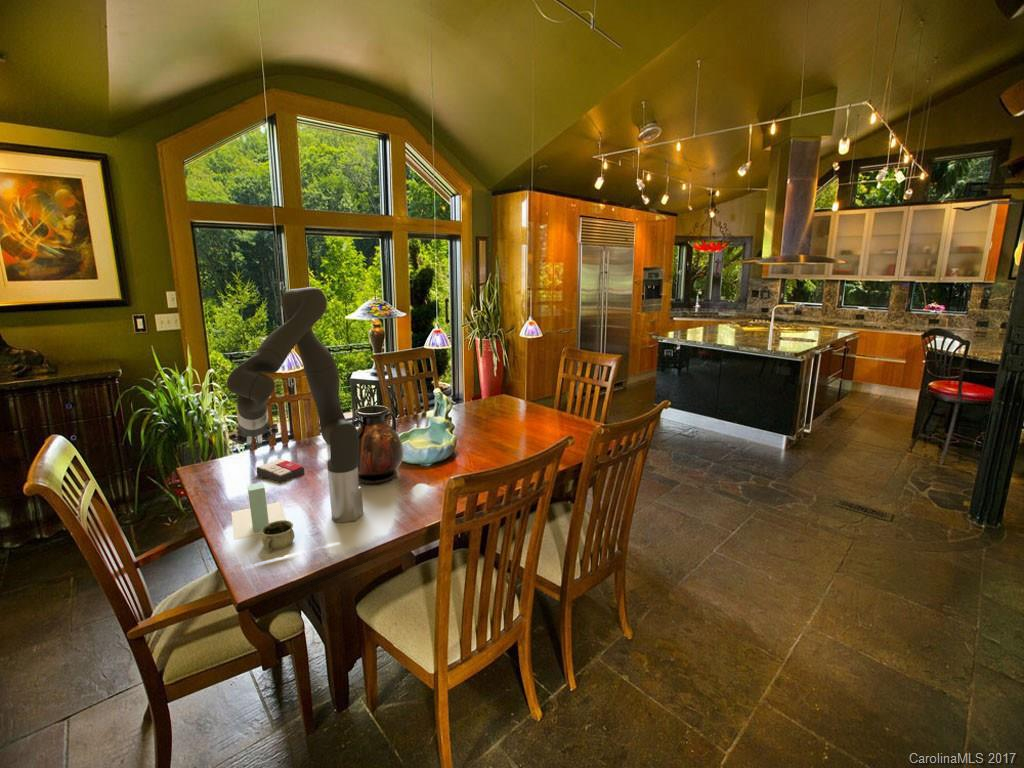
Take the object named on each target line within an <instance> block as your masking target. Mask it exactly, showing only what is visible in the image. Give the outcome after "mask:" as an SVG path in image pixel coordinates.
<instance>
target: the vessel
mask: <svg viewBox="0 0 1024 768" xmlns="http://www.w3.org/2000/svg"><path fill="white" fill-rule="evenodd" d="M293 527H294V524H293V522H292V521H290V520H287V519H286V520H280V521H275V522H271V523H269V524H267V525H265V526H264V527H262V529H261V533H260V534H262V537H261V542H262V545H263V546H264V547H265V550H267V553H268V554H271V553H272V551H278V550H283V549H285V548H288V547H289V546H291V545H292V543H293V541H294V539H295V536H296V535H295V531H294V530H293Z"/></svg>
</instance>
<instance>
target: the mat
mask: <svg viewBox="0 0 1024 768" xmlns="http://www.w3.org/2000/svg"><path fill="white" fill-rule="evenodd" d="M266 504H267V513H268V521H269V523H271V522H275V521H280V520H286V521H287V518H286V515H285V512H284V509H283V505H282V502H281V501H277V502H272V503H266ZM230 513H231V520H232V522H231V523H232V530H233V531H232V532H233V538H234V541H235V540H239V539H243V538H247V537H251V536H255V535H261V534H262V533H261V531H260V532H256V533H254V532H253V526H252V518H251V510H250V507H249V508H244V509H239V510H234V511H231V512H230Z"/></svg>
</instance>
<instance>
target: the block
mask: <svg viewBox="0 0 1024 768" xmlns="http://www.w3.org/2000/svg"><path fill="white" fill-rule="evenodd" d="M265 489H266V488H265V484H264V482H259V483H254V484H248V485H247V492H248V503H249V508H250V510H251V518H252V526H253V532H254V533H256V532H260V531H261V529H262V527H264V526H265V525H267V524H269V521H268V513H267V504H268V503H267V499H266V498H267V497H266V490H265Z"/></svg>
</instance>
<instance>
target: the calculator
mask: <svg viewBox="0 0 1024 768" xmlns="http://www.w3.org/2000/svg"><path fill="white" fill-rule="evenodd" d="M304 473H305V467H304V466H302V465H300V464H297V463H294V462H291V461H289V460H285V459H282V458H278V459H276V460H273V461H270V462H267V463H264V464H261V465H259V466H257V467H256V476H257V475H259V476H258V477H260V476H262V477H261V478H265V479H268V480H270V481H272V480H273V481H272V482H275V481H276V482H275V483H278V482H279V483H278V484H282V482H283V483H285V482H287V480H288V481H290V480H292V478H293V479H296V478H297V476H298V477H300V476H302V474H303V475H305V474H304Z"/></svg>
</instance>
